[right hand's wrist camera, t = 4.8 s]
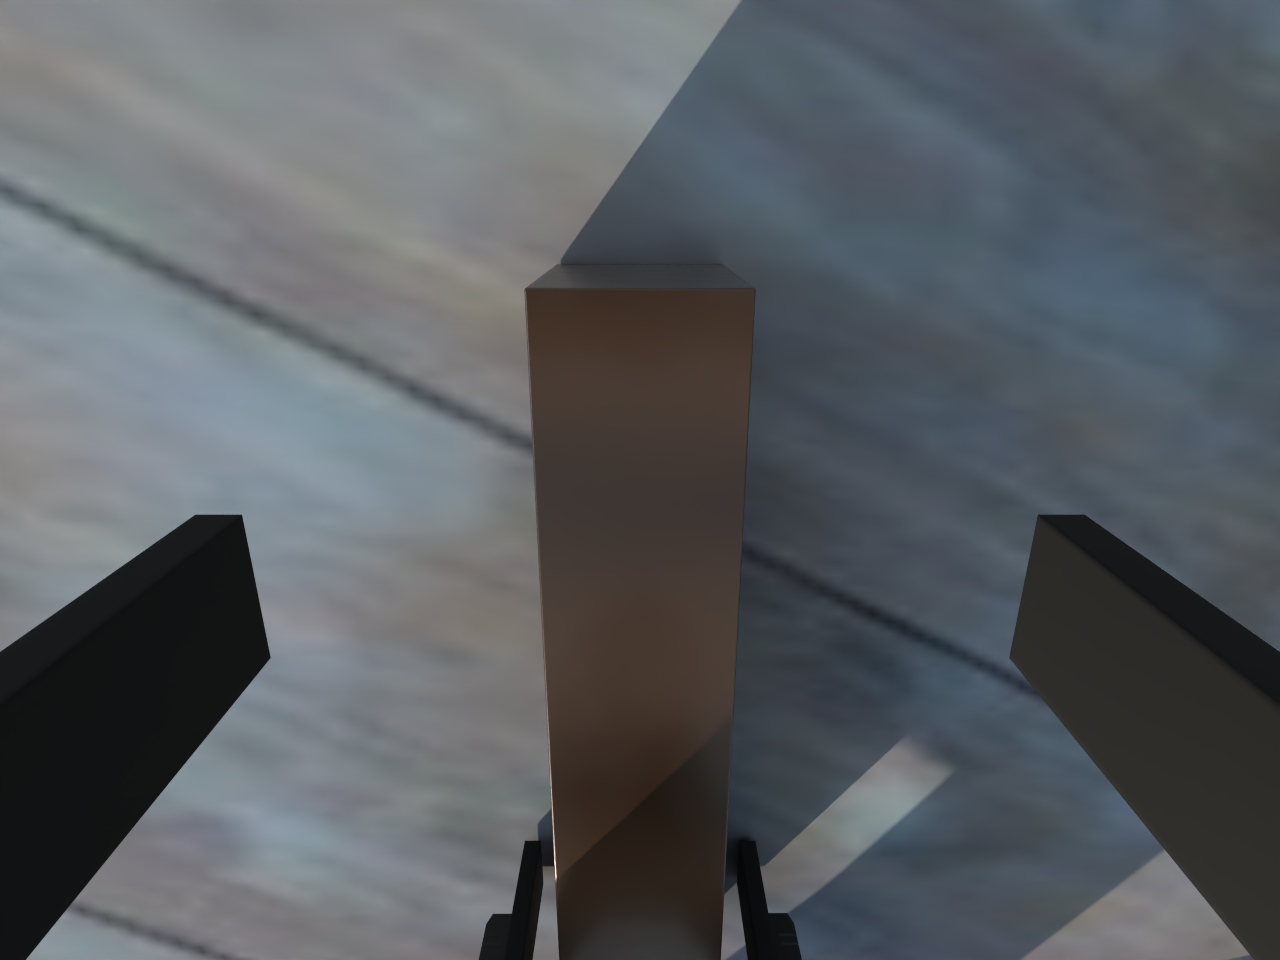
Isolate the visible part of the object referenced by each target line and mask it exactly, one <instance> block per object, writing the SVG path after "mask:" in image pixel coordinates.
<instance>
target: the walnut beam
mask: <svg viewBox="0 0 1280 960" xmlns="http://www.w3.org/2000/svg"><path fill="white" fill-rule="evenodd" d="M525 309H526V328H527V348H528V367H529V386H530V405H531V424H532V443H533V463H534V482H535V501H536V520H537V539H538V558H539V578H540V597H541V616H542V635H543V654H544V674H545V693H546V712H547V731H548V750H549V769H550V789H551V808H552V827H553V846H554V865H555V884H556V904H557V923H558V942H559V960H721V942H722V923H723V904H724V885H725V865H726V846H727V827H728V808H729V789H730V770H731V750H732V731H733V712H734V693H735V674H736V655H737V635H738V616H739V597H740V578H741V559H742V540H743V520H744V501H745V482H746V463H747V444H748V424H749V405H750V386H751V367H752V348H753V329H754V309H755V288H753V287H752V286H751V285H749V284H748V283H747V282H745V281H744V280H743V279H741V278H740V277H739V276H737V275H736V274H735V273H733V272H732V271H731V270H729V269H728V268H727V267H725V266H724V265H722V264H558V265H556V266H555V267H553V268H552V269H551V270H549V271H548V272H547V273H545V274H544V275H543V276H541V277H540V278H539V279H537V280H536V281H535V282H533V283H532V284H531V285H529V286H528V287H527V288H525Z"/></svg>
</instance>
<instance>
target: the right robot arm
mask: <svg viewBox="0 0 1280 960" xmlns="http://www.w3.org/2000/svg"><path fill="white" fill-rule="evenodd" d="M269 659H270V653H269V648H268V643H267V638H266V633H265V628H264V623H263V618H262V613H261V608H260V603H259V598H258V593H257V588H256V583H255V578H254V573H253V568H252V563H251V558H250V553H249V548H248V543H247V538H246V533H245V528H244V523H243V518H242V515H194V516H193V517H192V518H190V519H189V520H187V521H186V522H185V523H183V524H182V525H180V526H179V527H177V528H176V529H175V530H173V531H172V532H170V533H169V534H167V535H166V536H165V537H163V538H162V539H160V540H159V541H157V542H156V543H155V544H153V545H152V546H150V547H149V548H148V549H146V550H145V551H143V552H142V553H140V554H139V555H138V556H136V557H135V558H133V559H132V560H130V561H129V562H128V563H126V564H125V565H123V566H122V567H120V568H119V569H118V570H116V571H115V572H113V573H112V574H111V575H109V576H108V577H106V578H105V579H103V580H102V581H101V582H99V583H98V584H96V585H95V586H93V587H92V588H91V589H89V590H88V591H86V592H85V593H83V594H82V595H81V596H79V597H78V598H76V599H75V600H74V601H72V602H71V603H69V604H68V605H66V606H65V607H64V608H62V609H61V610H59V611H58V612H56V613H55V614H54V615H52V616H51V617H49V618H48V619H47V620H45V621H44V622H42V623H41V624H39V625H38V626H37V627H35V628H34V629H32V630H31V631H29V632H28V633H27V634H25V635H24V636H22V637H21V638H19V639H18V640H17V641H15V642H14V643H12V644H11V645H10V646H8V647H7V648H5V649H4V650H2V651H1V652H0V960H26V959H27V957H28V956H29V955H30V954H31V953H32V951H33V950H34V949H35V948H36V946H37V945H38V944H39V943H40V941H41V940H42V939H43V938H44V937H45V935H46V934H47V933H48V932H49V930H50V929H51V928H52V927H53V925H54V924H55V923H56V922H57V921H58V919H59V918H60V917H61V916H62V914H63V913H64V912H65V911H66V909H67V908H68V907H69V906H70V904H71V903H72V902H73V901H74V900H75V898H76V897H77V896H78V895H79V893H80V892H81V891H82V890H83V888H84V887H85V886H86V885H87V884H88V882H89V881H90V880H91V879H92V877H93V876H94V875H95V874H96V872H97V871H98V870H99V869H100V867H101V866H102V865H103V864H104V863H105V861H106V860H107V859H108V858H109V856H110V855H111V854H112V853H113V851H114V850H115V849H116V848H117V847H118V845H119V844H120V843H121V842H122V840H123V839H124V838H125V837H126V835H127V834H128V833H129V832H130V831H131V829H132V828H133V827H134V826H135V824H136V823H137V822H138V821H139V819H140V818H141V817H142V816H143V814H144V813H145V812H146V811H147V810H148V808H149V807H150V806H151V805H152V803H153V802H154V801H155V800H156V798H157V797H158V796H159V795H160V794H161V792H162V791H163V790H164V789H165V787H166V786H167V785H168V784H169V782H170V781H171V780H172V779H173V777H174V776H175V775H176V774H177V773H178V771H179V770H180V769H181V768H182V766H183V765H184V764H185V763H186V761H187V760H188V759H189V758H190V757H191V755H192V754H193V753H194V752H195V750H196V749H197V748H198V747H199V745H200V744H201V743H202V742H203V741H204V739H205V738H206V737H207V736H208V734H209V733H210V732H211V731H212V729H213V728H214V727H215V726H216V724H217V723H218V722H219V721H220V720H221V718H222V717H223V716H224V715H225V713H226V712H227V711H228V710H229V708H230V707H231V706H232V705H233V704H234V702H235V701H236V700H237V699H238V697H239V696H240V695H241V694H242V692H243V691H244V690H245V689H246V688H247V686H248V685H249V684H250V683H251V681H252V680H253V679H254V678H255V676H256V675H257V674H258V673H259V671H260V670H261V669H262V668H263V667H264V665H265V664H266V663H267V662H268V660H269ZM1010 659H1011V660H1012V662H1013V663H1014V664H1015V665H1016V667H1017V668H1018V669H1019V670H1020V671H1021V673H1022V674H1023V675H1024V676H1025V678H1026V679H1027V680H1028V681H1029V683H1030V684H1031V685H1032V686H1033V688H1034V689H1035V690H1036V691H1037V692H1038V694H1039V695H1040V696H1041V697H1042V699H1043V700H1044V701H1045V702H1046V704H1047V705H1048V706H1049V707H1050V708H1051V710H1052V711H1053V712H1054V713H1055V715H1056V716H1057V717H1058V718H1059V720H1060V721H1061V722H1062V723H1063V724H1064V726H1065V727H1066V728H1067V729H1068V731H1069V732H1070V733H1071V734H1072V736H1073V737H1074V738H1075V739H1076V741H1077V742H1078V743H1079V744H1080V745H1081V747H1082V748H1083V749H1084V750H1085V752H1086V753H1087V754H1088V755H1089V757H1090V758H1091V759H1092V760H1093V761H1094V763H1095V764H1096V765H1097V766H1098V768H1099V769H1100V770H1101V771H1102V773H1103V774H1104V775H1105V776H1106V777H1107V779H1108V780H1109V781H1110V782H1111V784H1112V785H1113V786H1114V787H1115V789H1116V790H1117V791H1118V792H1119V794H1120V795H1121V796H1122V797H1123V798H1124V800H1125V801H1126V802H1127V803H1128V805H1129V806H1130V807H1131V808H1132V810H1133V811H1134V812H1135V813H1136V814H1137V816H1138V817H1139V818H1140V819H1141V821H1142V822H1143V823H1144V824H1145V826H1146V827H1147V828H1148V829H1149V831H1150V832H1151V833H1152V834H1153V835H1154V837H1155V838H1156V839H1157V840H1158V842H1159V843H1160V844H1161V845H1162V847H1163V848H1164V849H1165V850H1166V851H1167V853H1168V854H1169V855H1170V856H1171V858H1172V859H1173V860H1174V861H1175V863H1176V864H1177V865H1178V866H1179V867H1180V869H1181V870H1182V871H1183V872H1184V874H1185V875H1186V876H1187V877H1188V879H1189V880H1190V881H1191V882H1192V884H1193V885H1194V886H1195V887H1196V888H1197V890H1198V891H1199V892H1200V893H1201V895H1202V896H1203V897H1204V898H1205V900H1206V901H1207V902H1208V903H1209V904H1210V906H1211V907H1212V908H1213V909H1214V911H1215V912H1216V913H1217V914H1218V916H1219V917H1220V918H1221V919H1222V921H1223V922H1224V923H1225V924H1226V925H1227V927H1228V928H1229V929H1230V930H1231V932H1232V933H1233V934H1234V935H1235V937H1236V938H1237V939H1238V940H1239V941H1240V943H1241V944H1242V945H1243V946H1244V948H1245V949H1246V950H1247V951H1248V953H1249V954H1250V955H1251V956H1252V957H1253V959H1254V960H1280V652H1279V651H1278V650H1276V649H1275V648H1273V647H1272V646H1270V645H1269V644H1268V643H1266V642H1265V641H1263V640H1262V639H1261V638H1259V637H1258V636H1256V635H1255V634H1253V633H1252V632H1251V631H1249V630H1248V629H1246V628H1245V627H1243V626H1242V625H1241V624H1239V623H1238V622H1236V621H1235V620H1233V619H1232V618H1231V617H1229V616H1228V615H1226V614H1225V613H1224V612H1222V611H1221V610H1219V609H1218V608H1216V607H1215V606H1214V605H1212V604H1211V603H1209V602H1208V601H1206V600H1205V599H1204V598H1202V597H1201V596H1199V595H1198V594H1197V593H1195V592H1194V591H1192V590H1191V589H1189V588H1188V587H1187V586H1185V585H1184V584H1182V583H1181V582H1179V581H1178V580H1177V579H1175V578H1174V577H1172V576H1171V575H1169V574H1168V573H1167V572H1165V571H1164V570H1162V569H1161V568H1160V567H1158V566H1157V565H1155V564H1154V563H1152V562H1151V561H1150V560H1148V559H1147V558H1145V557H1144V556H1142V555H1141V554H1140V553H1138V552H1137V551H1135V550H1134V549H1132V548H1131V547H1130V546H1128V545H1127V544H1125V543H1124V542H1123V541H1121V540H1120V539H1118V538H1117V537H1115V536H1114V535H1113V534H1111V533H1110V532H1108V531H1107V530H1105V529H1104V528H1103V527H1101V526H1100V525H1098V524H1097V523H1095V522H1094V521H1093V520H1091V519H1090V518H1088V517H1087V516H1086V515H1038V518H1037V523H1036V528H1035V533H1034V538H1033V543H1032V548H1031V553H1030V558H1029V563H1028V568H1027V573H1026V578H1025V583H1024V588H1023V593H1022V598H1021V603H1020V608H1019V613H1018V618H1017V623H1016V628H1015V633H1014V638H1013V643H1012V648H1011V653H1010Z"/></svg>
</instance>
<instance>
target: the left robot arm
mask: <svg viewBox="0 0 1280 960" xmlns="http://www.w3.org/2000/svg"><path fill="white" fill-rule="evenodd" d="M737 886H738V893H739V900H740V907H741V914H742V921H743V929H744V936H745V943H746V950H747V957H748V960H802V959H801V954H800V950H799V946H798V940H797V937H796V931H795V926H794V923H793V921H792V920H791V918H790V917H789V915H788V914H787V913H768V909H767V904H766V898H765V893H764V887H763V881H762V876H761V870H760V865H759V859H758V853H757V848H756V842H755V841H740V842H739V859H738V876H737ZM542 889H543V871H542V854H541V841H525V844H524V849H523V855H522V861H521V866H520V872H519V877H518V883H517V888H516V894H515V900H514V905H513V911H512V914H493V915H492V916H491V918H490V919H489V921H488V923H487V924H486V928H485V933H484V938H483V942H482V947H481V952H480V957H479V960H532V959H533V952H534V945H535V938H536V931H537V924H538V917H539V910H540V903H541V896H542Z"/></svg>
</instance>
